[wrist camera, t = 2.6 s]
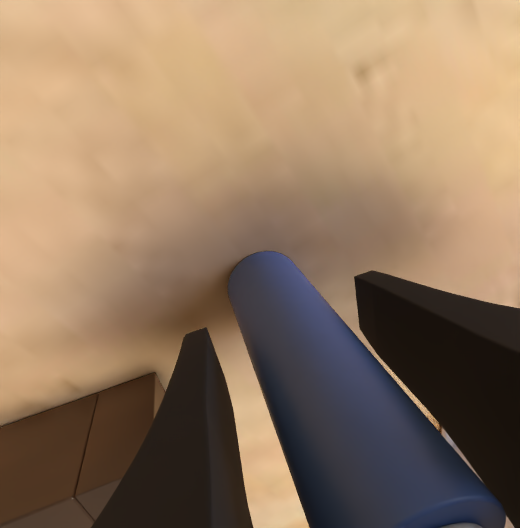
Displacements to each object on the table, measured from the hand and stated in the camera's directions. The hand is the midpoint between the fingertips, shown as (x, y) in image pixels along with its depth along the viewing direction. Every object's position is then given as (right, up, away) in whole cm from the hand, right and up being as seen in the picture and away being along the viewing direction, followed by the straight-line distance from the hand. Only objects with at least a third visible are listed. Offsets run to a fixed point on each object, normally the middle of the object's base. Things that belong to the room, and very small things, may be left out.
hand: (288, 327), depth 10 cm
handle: (-1, +1, +3) cm, 3 cm away
